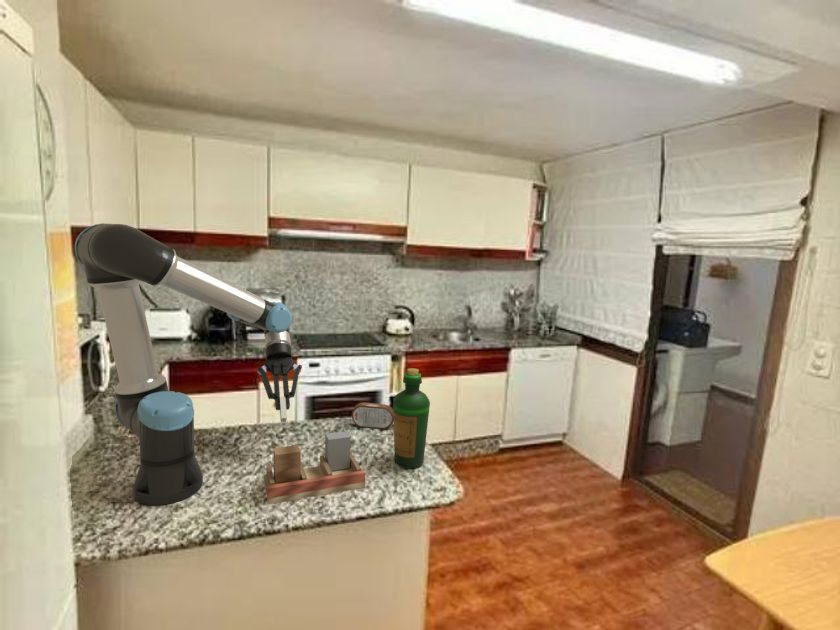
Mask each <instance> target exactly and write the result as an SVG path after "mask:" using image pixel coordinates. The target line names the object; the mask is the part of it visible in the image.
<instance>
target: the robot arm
mask: <svg viewBox="0 0 840 630" xmlns="http://www.w3.org/2000/svg"><path fill="white" fill-rule="evenodd" d="M74 252H75V255H76V258H77V260H78V261H79V263H80V264H81V265H82V267H83V271H84V273H85V277H86V281H87V284H88V285H89V286H90V287H92V288H93V289H95V290H96V291H97V294H98V299H99V301H100V306H101V310H102V315H103V319H104V322H105V328H106V330H107V331H106V332H107V335H108V339H109V343H110V348H111V352H112V356H113V359H114V363H115V364H114V365H115V367H116V372H117V377H118V380H119V382H118V383H117V385H116V386H115V387H114V389H113V391H114V395H115V399H116V400H115V403H114V413H115V415H116V418H117V420H118V422H119V423H120V424H121V425H122V426H123V427H125V428H126V429H127V430H129V432H131V433H132V434H133V435H134V436H135V437H137V438H138V440H139V456H140V457H139V459H140V465H139V468H138V471H137V474H136V477H135V480H134V482H133V487H132V494H133V499H134V501H136V502H137V503H139V504H141V505H147V506H160V505H169V504H172V503H177V502H180V501H182V500H186V499H187V498H190V497H192V496H193V495H195V494H196V493H197V492H198V491H200V490H201V488H202V487H203V484H204V479H203V476H204V475H203V471H202V469H201V467H200V464H199V462H198V459H197V458H196V455H195V420H194V419H195V418H194V416H195V409H194V403H193V400H192V398H191V397H190V396H189V395H187V394H186V393H184V392H183V393H182V392H179V391H177V392H175V391H173V390H172V391H171V390H169V387H168V382H167V378H166V376H164V375H162V374H160V373H159V372H158V366H157V362H156V357H155V353H154V349H153V343H152V340H151V334H150V331H149V325H148V321H147V317H146V312H145V307H144V303H143V298H142V293H141V288H140V283H141V282H143V283H146V284H149V285H151V286H153V287H156V286H159V285H161V286H163V287H167V288H168V289H171V290H173V291H176V292H177V293H180V294H183V295H184V296H187V297H189V298H192V299H195V300H197V301H200V302H201V303H203V304H206V305H208V306H211V307H213V308H215V309H216V310H220V311H222V312H225V313H226V314H227V317H228V318H229V319H231V320H234V321H236V322H240V323H241V324H245V325H247V326H252V327H254V328H257V329H260V330H263V331H264V333H263V334H264V345H265V346H264V347H265V362H264V365H263V366H257V374H258V376H259V377H260V378H261V381H262V383H263V387H264V390H265V392H266V395H267V398H268V399H269V400H274V403H275V404H274V405H275V410H276V411H279V416H280V417H279V418H280V423H286V422H287V419H288V416H287V415H288V413H287V410H290V407H291V403H290V399H291V398H294V397H295V395H296V391H297V385H298V379H299V375H300V374H301V371H302V369H303V368H302V367H303V365H302V364H296V363H295V361H294V359H293V353H292V347H291V346H292V344H291V343H292V341H291V334H290V333H291V332H290V327H291V324H292V322H293V321H292V320H293V319H292V318H293V316H292V313H291V311H290V310H289V308H288V307H286V304H284V303H282V302H275V301H272V302H271V301H269V300H267V299H265V298H263V297H261V296H259V295H257V294H254V293H253V292H252V291H248V290H247V289H245V288H242V287H240V286H238V285H237V284H234V283H232V282H230V281H229V280H226V279H225V278H222V277H220V276H218V275H216V274H214V273H212V272H210V271H209V270H206V269H204V268H202V267H200V266H198V265H197V264H194V263H192V262H190V261H188V260H186V259H184V258H182V257H179V256H178V255H177V253H176V250H175V249H174V248H172V247H169V246H168V245H166V244H164V243H162V242H161V241H159V240H157V239H155V238H154V237H151V236H150V235H149V234H148V235H147V233H145V232H143V231H141V230H139V229H138V228H136V227H133V226H131V225H127V224H124V223H123V224H122V223H103V222H102V223H99V224H98V223H97V224H94V225H91V226H89V227H87V228H85V229H83V230H82V231H81V232H80V233H79V235H78V236H77V237H76V239H75V243H74ZM292 370H293V372H294V375H293V379H292V385H291V391H290V389H289V378H288V377H289V376H288V374H289V373H290V372H291V371H292ZM267 371H268V372H269V373H270V375H272V376H273V389H274V390H273V389H272V385H271V384H270V380H269V377H268V376H267ZM279 377H282V378H281V379H282V388H283V389H282V390H283V396H281V393H280V380H279Z"/></svg>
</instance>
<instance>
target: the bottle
mask: <svg viewBox="0 0 840 630" xmlns="http://www.w3.org/2000/svg"><path fill="white" fill-rule="evenodd" d="M419 371H420V370H419V369H418V368H413V367H411V368H407V372H405V373H404V375H403V379H402V382H403V384H404V389H403V390H402V391H400V392H399V393H397V394H396V395H395V397H393V403H392V405H393V410H394V422H393V446H394V449H393V450H394V452H393V455H394V456H393V457H394V464H396V465H397V466H398V467H400V468H403V469H415V468H418V467H421V466H422V465H423V463H424V460H425V450H426V443H427V442H426V441H427V433H428V424H429V416H430V405H431V400H430V399H429V397H428V395H427V394H426V393H424V392H423V391H422V390H420V387H421V384H423V380H422V374H421V373H419Z"/></svg>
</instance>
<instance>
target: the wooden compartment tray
mask: <svg viewBox="0 0 840 630" xmlns="http://www.w3.org/2000/svg"><path fill="white" fill-rule="evenodd" d="M265 465H266V467H265V468H266V471H265V472H266V473H265V474H263V485H264V489H265V494H266V500H267V505H272V504H279V503H284V502H290V501H296V500H301V499H307V498H311V497H318V496H323V495H328V494H335V493H340V492H341V493H342V492H345V491H350V490H351V491H352V490H358V489H363V488H366V472H365V470H364V469H362V467H361V466H360V464H359V463H358V461H357V459H356V457H355V456H354V455H353V452H351V451H350V468H347V469H341V470H335V471H331V470H330V467H329V465H328V463H327V461H326V459H325V454H323V455H320V456H319V466H318V465H317V466H313V467H308V468H307V467H306V468H304V466H303V464H302V462H301V469H300V481H293V482H287V483H281V484H275V481H274V471H273V469H272V464H271V462H267V463H266V464H265Z"/></svg>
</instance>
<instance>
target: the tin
mask: <svg viewBox="0 0 840 630" xmlns="http://www.w3.org/2000/svg"><path fill="white" fill-rule="evenodd" d="M351 419H352V422H353V423H354V424H355V425H356V426H357V427H360V428H366V429H367V428H368V429H377V430H378V429H379V430H386V429H389V428H390V427H392V425H394V408H392V406H390V405H388V404H385V403H384V404H383V403H373V402H363V401H362V402H359V403H357V404H356V405H354V407H353V409H352V412H351Z"/></svg>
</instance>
